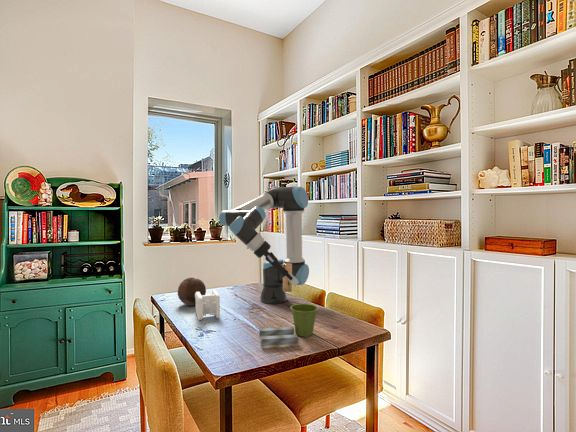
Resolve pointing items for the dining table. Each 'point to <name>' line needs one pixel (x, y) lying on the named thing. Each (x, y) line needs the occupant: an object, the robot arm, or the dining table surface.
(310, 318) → the plant pot
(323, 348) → the dining table surface
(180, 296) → the wooden sphere
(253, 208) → the robot arm
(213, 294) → the cable organizer
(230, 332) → the dining table surface
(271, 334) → the notch board
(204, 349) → the dining table surface
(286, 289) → the copper pin
